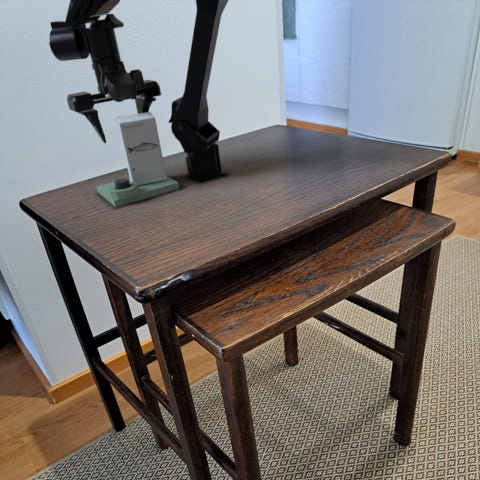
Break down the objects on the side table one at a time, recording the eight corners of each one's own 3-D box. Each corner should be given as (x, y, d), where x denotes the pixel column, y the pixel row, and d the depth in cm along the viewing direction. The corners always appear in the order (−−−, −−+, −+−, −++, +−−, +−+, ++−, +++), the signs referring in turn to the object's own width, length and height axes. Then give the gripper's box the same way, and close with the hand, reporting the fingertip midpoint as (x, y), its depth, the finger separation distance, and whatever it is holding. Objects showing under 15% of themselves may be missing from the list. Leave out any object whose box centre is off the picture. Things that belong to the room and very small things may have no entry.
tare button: (127, 184, 91) (125, 177, 90) (132, 188, 89) (130, 180, 88) (114, 188, 90) (112, 180, 89) (119, 191, 88) (117, 184, 87)
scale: (157, 176, 102) (154, 163, 101) (181, 189, 93) (178, 175, 91) (98, 192, 97) (94, 179, 95) (117, 208, 88) (113, 194, 86)
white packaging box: (133, 187, 93) (117, 123, 85) (129, 178, 99) (114, 116, 91) (168, 180, 94) (155, 116, 87) (162, 171, 100) (149, 110, 93)
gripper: (69, 66, 80) (94, 155, 89) (164, 50, 88) (178, 134, 97) (55, 63, 88) (79, 145, 98) (143, 50, 96) (158, 127, 105)
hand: (124, 138), depth 99 cm, fingers open, 9 cm apart
